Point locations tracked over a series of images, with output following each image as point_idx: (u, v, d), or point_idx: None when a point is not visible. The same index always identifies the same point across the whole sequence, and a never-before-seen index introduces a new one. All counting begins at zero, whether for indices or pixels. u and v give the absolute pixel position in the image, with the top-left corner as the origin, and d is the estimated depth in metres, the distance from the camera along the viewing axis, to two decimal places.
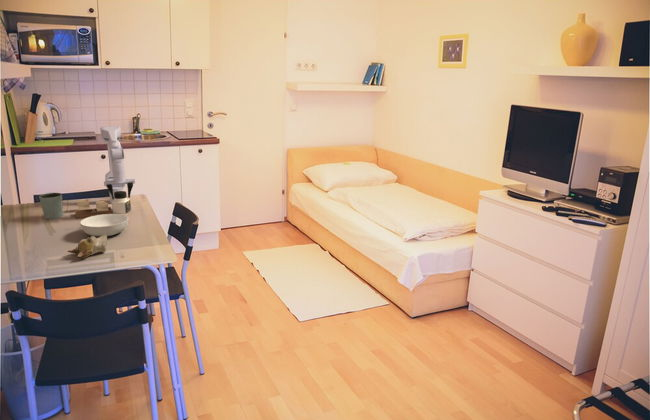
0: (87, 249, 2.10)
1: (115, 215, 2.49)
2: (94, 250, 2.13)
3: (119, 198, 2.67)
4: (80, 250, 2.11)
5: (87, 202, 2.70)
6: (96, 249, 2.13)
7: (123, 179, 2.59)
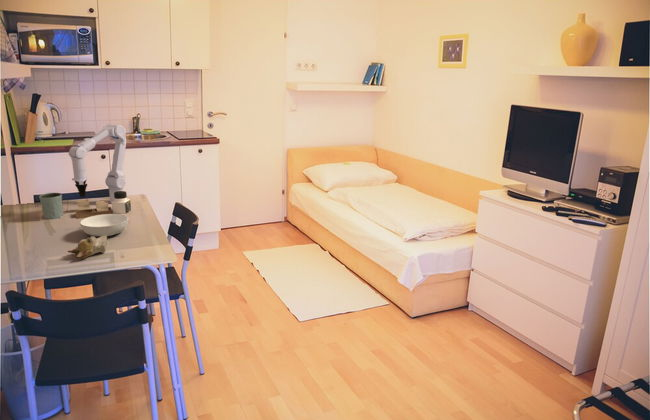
0: (87, 249, 2.10)
1: (115, 215, 2.49)
2: (94, 250, 2.12)
3: (119, 198, 2.67)
4: (80, 250, 2.11)
5: (87, 202, 2.70)
6: (95, 249, 2.13)
7: (75, 177, 2.65)
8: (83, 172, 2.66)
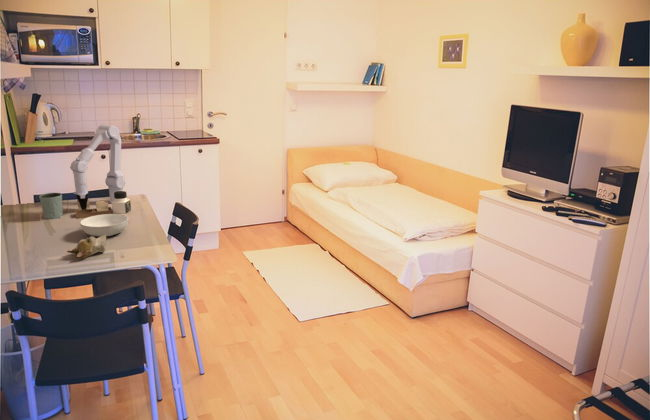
0: (86, 249, 2.10)
1: (115, 215, 2.49)
2: (93, 250, 2.12)
3: (119, 198, 2.67)
4: (79, 250, 2.11)
5: (87, 202, 2.70)
6: (95, 249, 2.13)
7: (77, 191, 2.67)
8: (84, 186, 2.68)
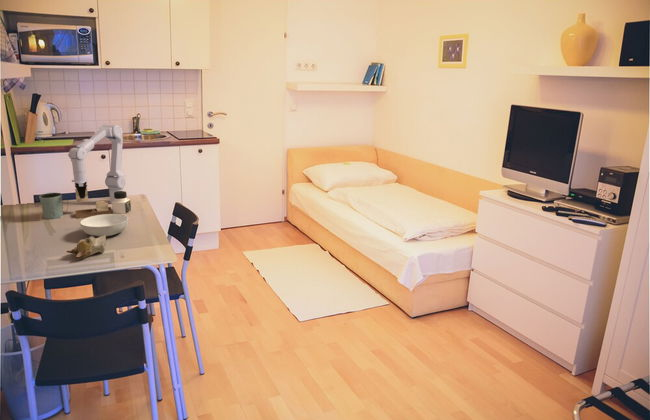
0: (86, 249, 2.10)
1: (115, 215, 2.49)
2: (93, 250, 2.12)
3: (119, 198, 2.67)
4: (79, 250, 2.11)
5: (85, 191, 2.65)
6: (94, 249, 2.13)
7: (75, 179, 2.62)
8: (83, 174, 2.62)
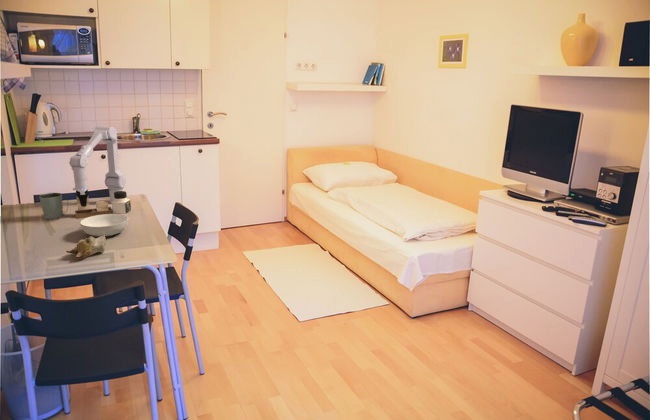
0: (85, 249, 2.10)
1: (115, 215, 2.49)
2: (92, 250, 2.12)
3: (119, 198, 2.67)
4: (78, 250, 2.10)
5: (87, 199, 2.61)
6: (94, 249, 2.13)
7: (76, 187, 2.58)
8: (84, 182, 2.59)
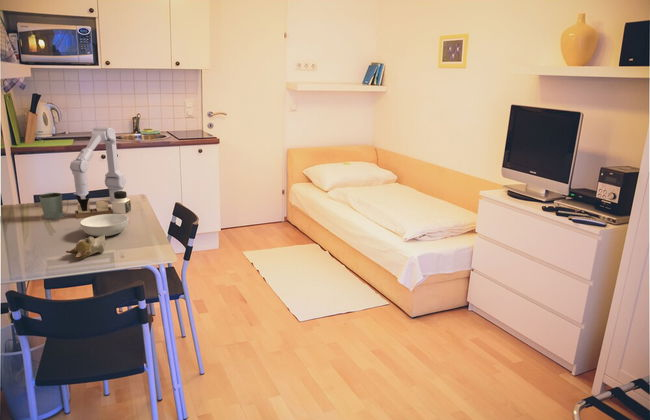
0: (85, 249, 2.10)
1: (115, 215, 2.49)
2: (92, 250, 2.12)
3: (119, 198, 2.67)
4: (78, 250, 2.10)
5: (87, 205, 2.62)
6: (94, 249, 2.13)
7: (77, 191, 2.59)
8: (85, 186, 2.59)
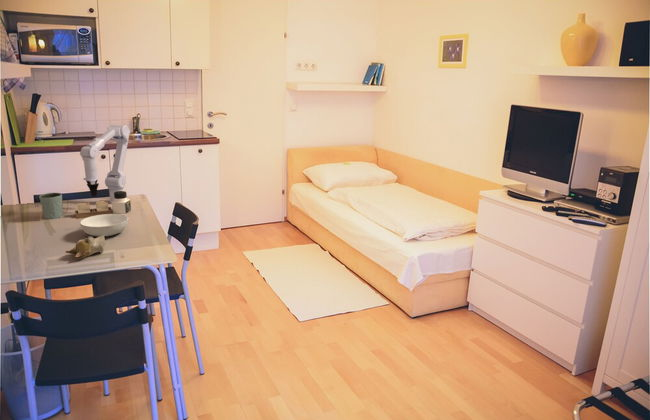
0: (85, 249, 2.10)
1: (115, 215, 2.49)
2: (92, 250, 2.12)
3: (119, 198, 2.67)
4: (78, 250, 2.10)
5: (87, 205, 2.62)
6: (93, 249, 2.12)
7: (87, 177, 2.66)
8: (94, 172, 2.67)
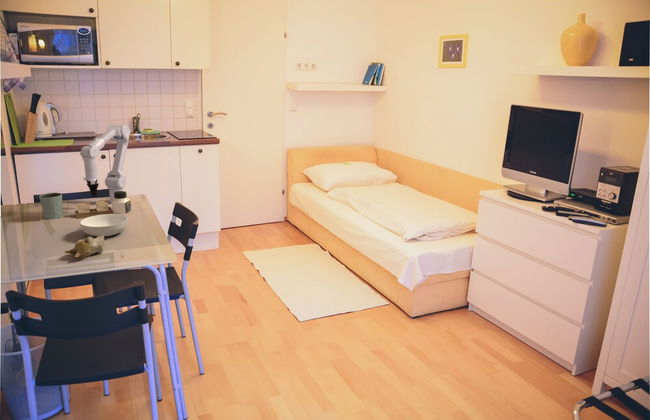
0: (84, 249, 2.10)
1: (115, 215, 2.49)
2: (91, 250, 2.12)
3: (119, 198, 2.67)
4: (77, 250, 2.10)
5: (87, 205, 2.62)
6: (93, 249, 2.12)
7: (87, 176, 2.66)
8: (95, 172, 2.67)
